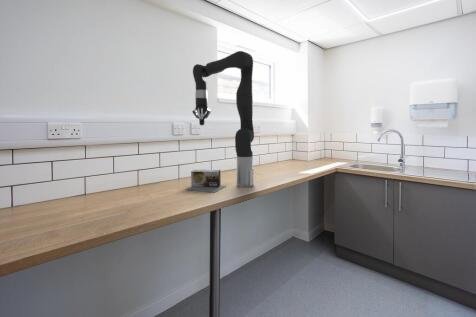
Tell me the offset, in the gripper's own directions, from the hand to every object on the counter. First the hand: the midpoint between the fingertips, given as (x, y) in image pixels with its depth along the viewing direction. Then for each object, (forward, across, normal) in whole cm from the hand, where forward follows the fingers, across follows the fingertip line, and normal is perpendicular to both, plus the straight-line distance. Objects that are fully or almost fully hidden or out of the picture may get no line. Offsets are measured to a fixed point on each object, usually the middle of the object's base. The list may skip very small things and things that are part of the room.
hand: (201, 125), depth 168 cm
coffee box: (+30, -4, +21) cm, 37 cm away
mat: (+35, -14, +22) cm, 44 cm away
